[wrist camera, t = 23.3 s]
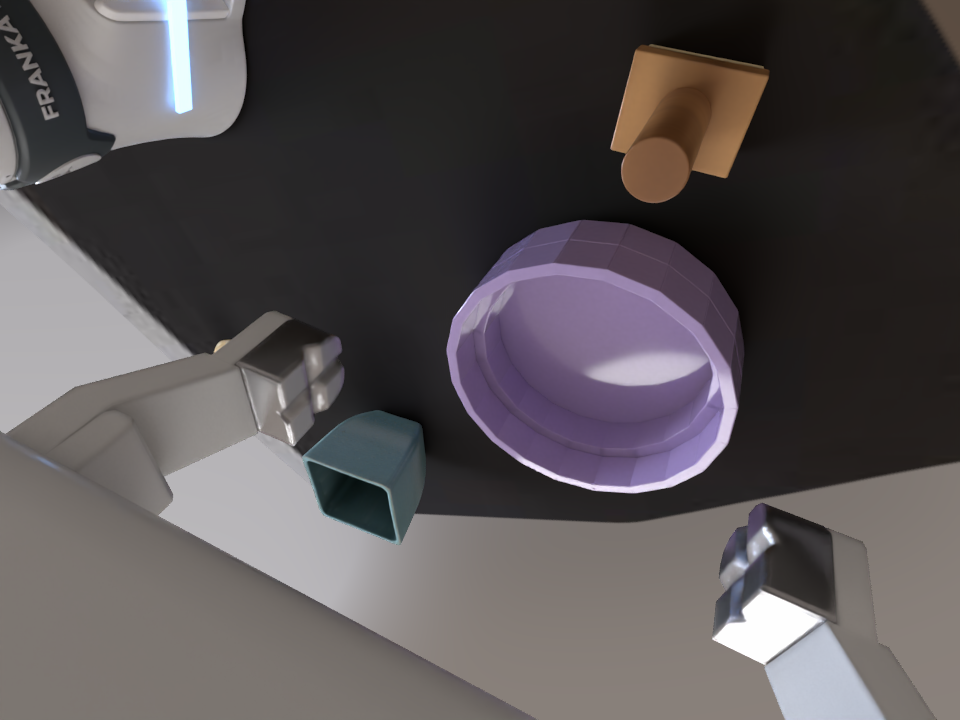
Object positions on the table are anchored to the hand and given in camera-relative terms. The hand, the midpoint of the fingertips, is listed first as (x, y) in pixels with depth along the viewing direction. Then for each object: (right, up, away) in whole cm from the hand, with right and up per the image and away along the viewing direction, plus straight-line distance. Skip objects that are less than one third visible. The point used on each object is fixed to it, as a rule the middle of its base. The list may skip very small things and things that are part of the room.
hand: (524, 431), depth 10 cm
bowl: (+7, +3, +26) cm, 28 cm away
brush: (+9, +14, +16) cm, 23 cm away
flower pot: (-8, -6, +43) cm, 45 cm away
